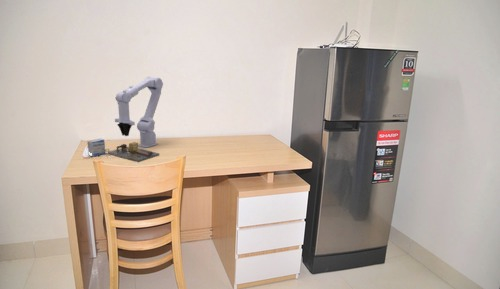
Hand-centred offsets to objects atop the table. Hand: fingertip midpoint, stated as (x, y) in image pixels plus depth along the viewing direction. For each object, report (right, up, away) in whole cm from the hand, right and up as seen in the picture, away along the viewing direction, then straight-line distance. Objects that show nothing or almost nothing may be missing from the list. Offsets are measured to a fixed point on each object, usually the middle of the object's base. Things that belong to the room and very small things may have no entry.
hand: (125, 135), depth 193 cm
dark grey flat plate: (+6, -11, -2) cm, 13 cm away
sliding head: (+5, -10, -2) cm, 11 cm away
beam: (+6, -10, -3) cm, 13 cm away
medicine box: (-14, -11, -5) cm, 19 cm away
